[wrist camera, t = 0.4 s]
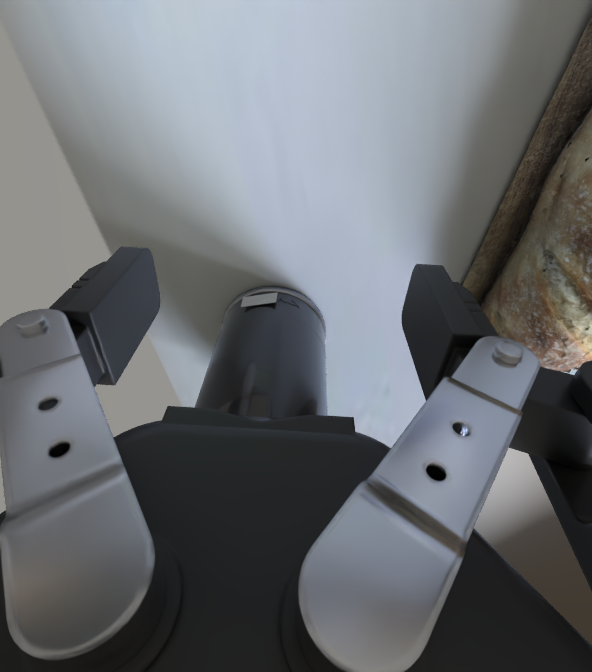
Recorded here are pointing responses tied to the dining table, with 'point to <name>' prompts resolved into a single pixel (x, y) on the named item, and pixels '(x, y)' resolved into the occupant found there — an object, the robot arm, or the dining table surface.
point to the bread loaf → (546, 232)
